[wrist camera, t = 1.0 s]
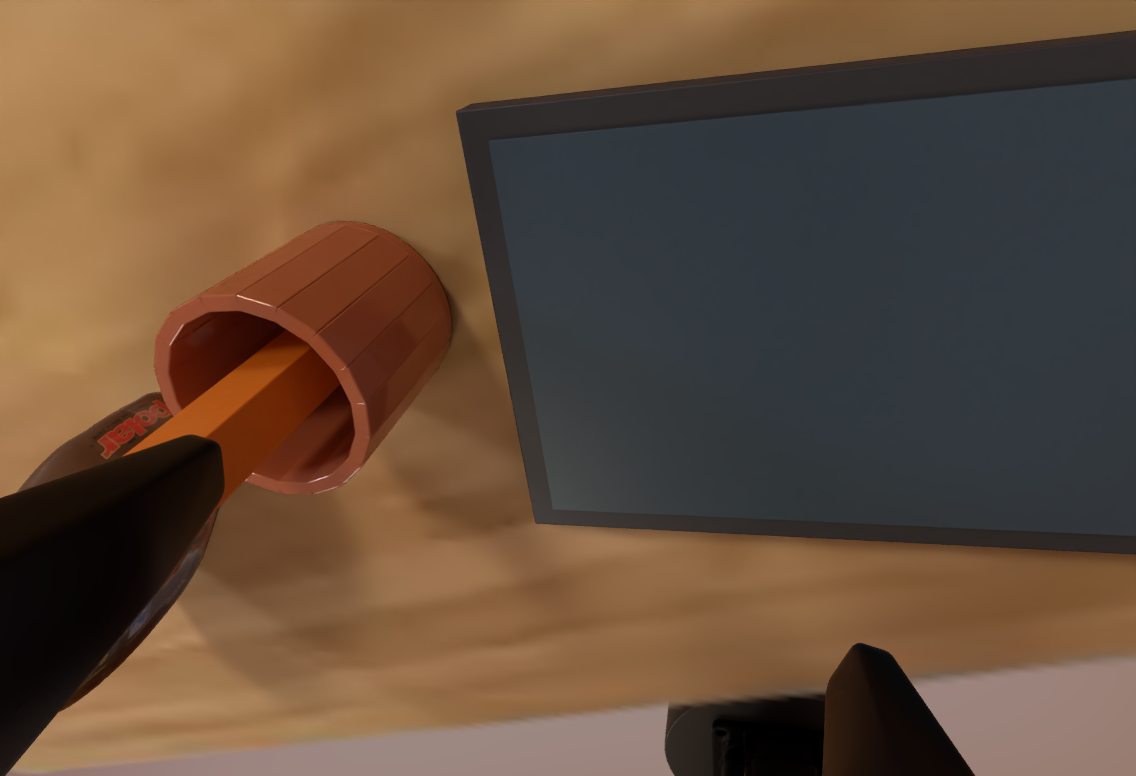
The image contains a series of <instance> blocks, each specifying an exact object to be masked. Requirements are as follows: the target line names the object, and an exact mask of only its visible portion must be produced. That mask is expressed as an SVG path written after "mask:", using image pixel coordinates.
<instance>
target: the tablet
mask: <svg viewBox="0 0 1136 776" xmlns="http://www.w3.org/2000/svg"><path fill="white" fill-rule="evenodd" d="M456 115H457V121H458V126H459V131H460V136H461V141H462V146H463V151H464V157H465V162H466V167H467V172H468V177H469V182H470V188H471V193H472V198H473V203H474V208H475V213H476V219H477V224H478V229H479V234H480V239H481V244H482V250H483V255H484V260H485V265H486V270H487V275H488V281H489V286H490V291H491V296H492V301H493V306H494V311H495V317H496V322H497V327H498V332H499V337H500V342H501V348H502V353H503V358H504V363H505V368H506V373H507V379H508V384H509V389H510V394H511V399H512V404H513V410H514V415H515V420H516V425H517V430H518V435H519V440H520V446H521V451H522V456H523V461H524V466H525V471H526V477H527V482H528V487H529V492H530V497H531V502H532V508H533V513H534V518H535V523H536V524H553V525H573V526H592V527H612V528H631V529H651V530H670V531H690V532H709V533H728V534H748V535H767V536H787V537H806V538H826V539H845V540H864V541H884V542H903V543H923V544H942V545H962V546H981V547H1000V548H1020V549H1039V550H1059V551H1078V552H1098V553H1117V554H1136V30H1135V31H1126V32H1117V33H1108V34H1098V35H1089V36H1080V37H1071V38H1062V39H1053V40H1044V41H1035V42H1026V43H1017V44H1008V45H999V46H990V47H981V48H972V49H963V50H954V51H945V52H936V53H927V54H918V55H909V56H900V57H891V58H882V59H873V60H864V61H855V62H846V63H837V64H828V65H819V66H810V67H801V68H792V69H783V70H774V71H765V72H756V73H747V74H738V75H729V76H720V77H711V78H701V79H692V80H683V81H674V82H665V83H656V84H647V85H638V86H629V87H620V88H611V89H602V90H593V91H584V92H575V93H566V94H557V95H548V96H539V97H530V98H521V99H512V100H503V101H494V102H485V103H476V104H470V105H468V106H466V107H464V108H462V109H460V110H458V111H456Z"/></svg>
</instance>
